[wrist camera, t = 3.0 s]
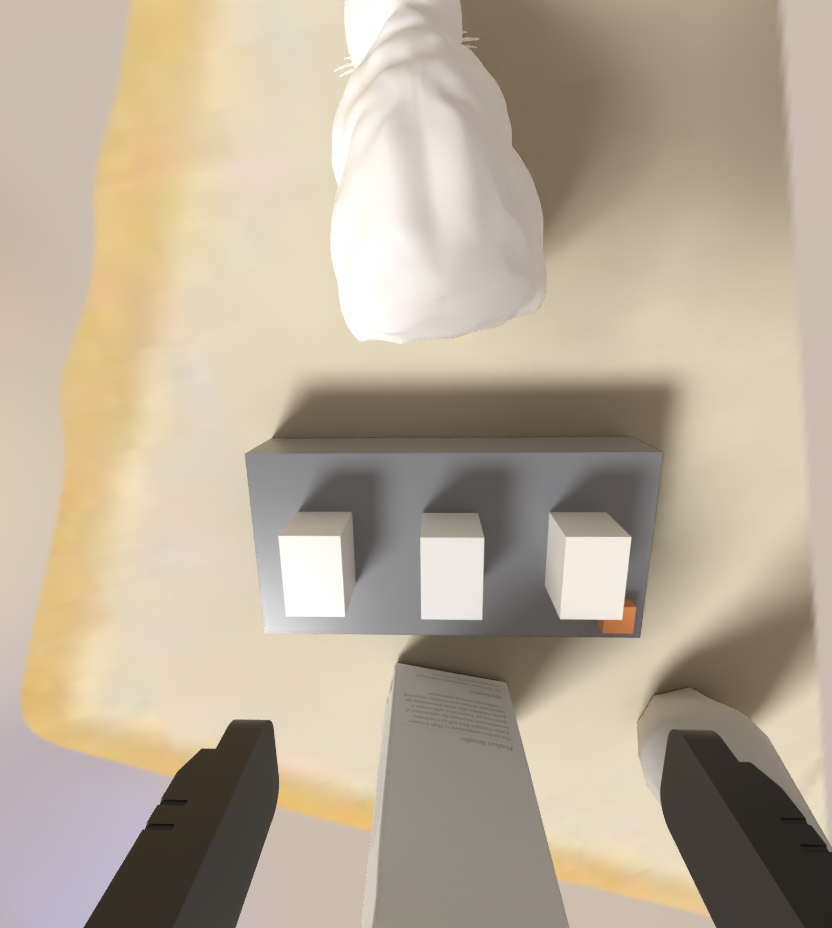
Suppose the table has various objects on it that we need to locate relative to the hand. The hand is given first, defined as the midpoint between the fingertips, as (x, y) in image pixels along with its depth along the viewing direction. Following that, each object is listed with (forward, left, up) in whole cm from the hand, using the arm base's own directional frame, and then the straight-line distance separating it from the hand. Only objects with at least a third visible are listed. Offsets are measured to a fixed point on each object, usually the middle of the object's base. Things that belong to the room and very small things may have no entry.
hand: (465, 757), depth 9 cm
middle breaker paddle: (0, 0, -10) cm, 10 cm away
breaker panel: (0, 0, -13) cm, 13 cm away
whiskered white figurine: (-14, -1, -13) cm, 19 cm away
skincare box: (+10, 0, -13) cm, 16 cm away
